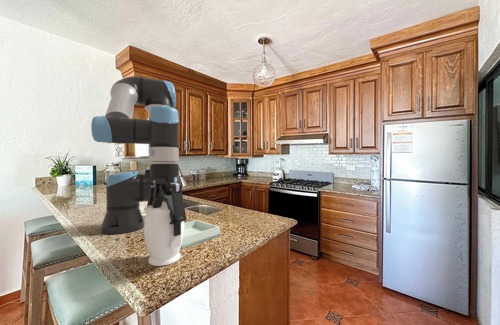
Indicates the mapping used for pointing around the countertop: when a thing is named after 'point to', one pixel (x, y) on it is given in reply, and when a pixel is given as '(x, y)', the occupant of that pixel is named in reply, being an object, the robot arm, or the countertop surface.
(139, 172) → the robot arm
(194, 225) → the tray
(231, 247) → the countertop surface
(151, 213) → the jar
